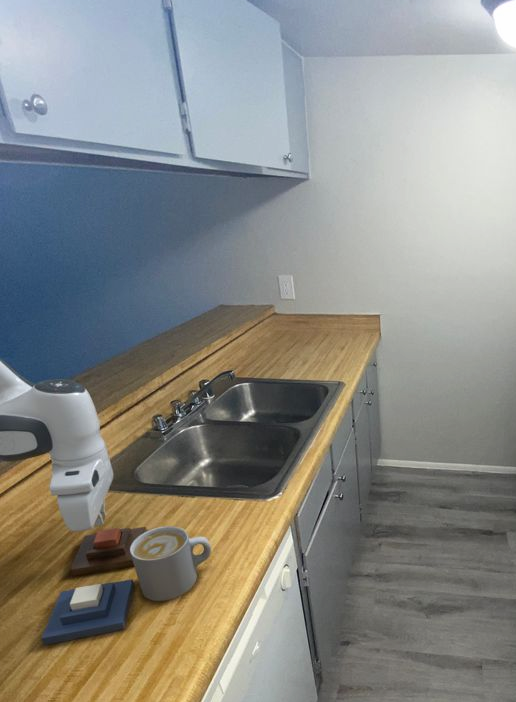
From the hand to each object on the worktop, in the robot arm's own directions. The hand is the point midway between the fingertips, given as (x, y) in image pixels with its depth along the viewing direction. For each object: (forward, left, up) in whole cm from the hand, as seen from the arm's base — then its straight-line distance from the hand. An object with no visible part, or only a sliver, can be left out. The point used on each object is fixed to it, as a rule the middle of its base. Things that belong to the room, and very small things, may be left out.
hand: (100, 521), depth 96 cm
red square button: (0, 0, -5) cm, 5 cm away
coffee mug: (+14, -12, -9) cm, 21 cm away
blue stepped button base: (0, -17, -8) cm, 19 cm away
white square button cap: (0, -17, -5) cm, 18 cm away
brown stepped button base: (0, 0, -8) cm, 8 cm away
